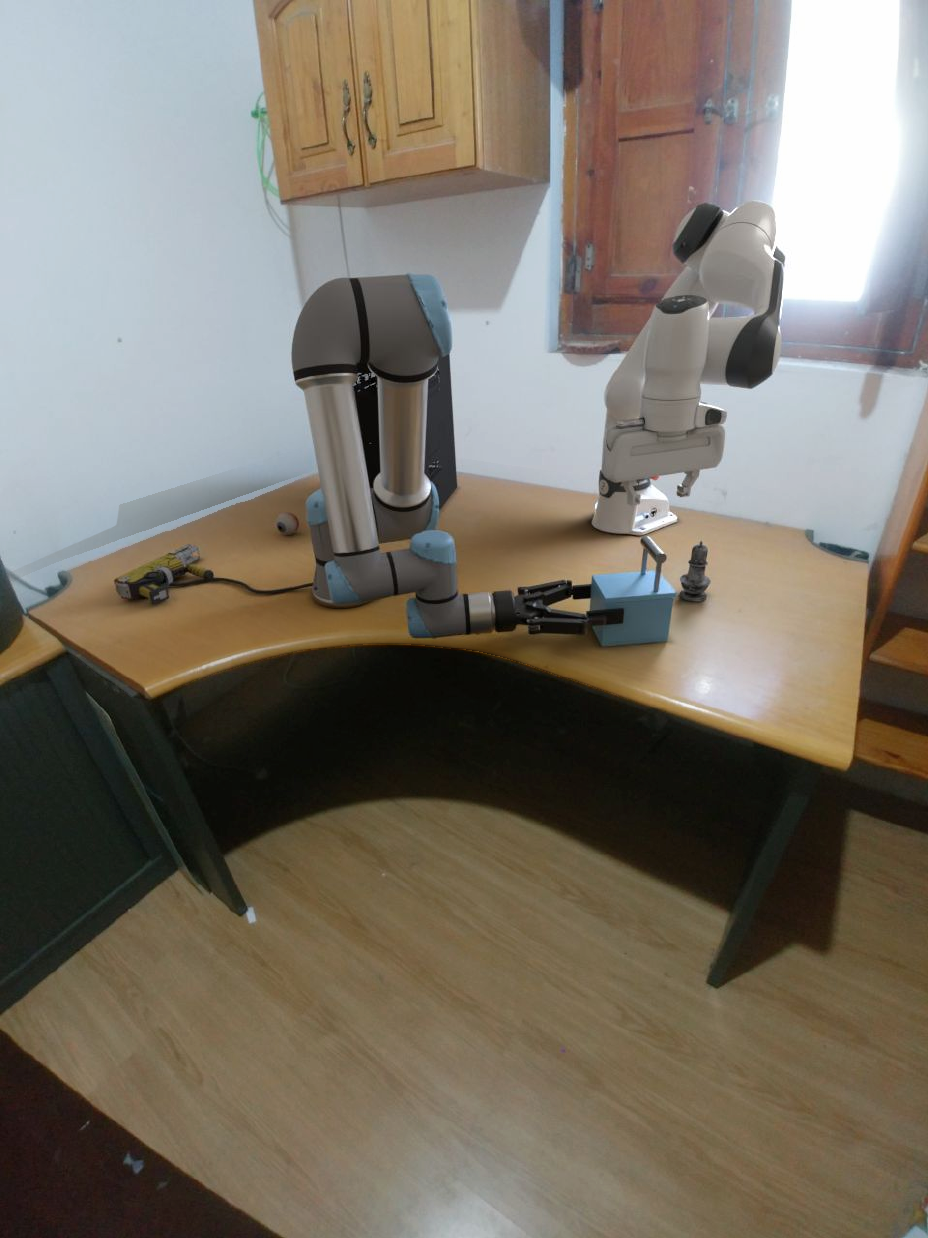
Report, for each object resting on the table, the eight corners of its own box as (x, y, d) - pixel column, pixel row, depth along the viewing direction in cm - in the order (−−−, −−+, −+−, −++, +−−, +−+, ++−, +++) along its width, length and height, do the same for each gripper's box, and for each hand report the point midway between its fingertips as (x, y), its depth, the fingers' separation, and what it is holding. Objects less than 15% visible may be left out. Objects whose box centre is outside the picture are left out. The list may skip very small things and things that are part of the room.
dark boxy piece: (424, 530, 162) (407, 348, 139) (353, 528, 166) (326, 351, 144) (457, 486, 193) (448, 332, 171) (397, 485, 198) (380, 334, 175)
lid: (657, 574, 113) (662, 532, 109) (676, 597, 105) (682, 553, 101) (591, 579, 112) (594, 538, 108) (605, 603, 104) (608, 559, 100)
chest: (650, 616, 117) (655, 575, 113) (667, 641, 109) (673, 598, 105) (588, 621, 117) (591, 580, 113) (601, 646, 109) (605, 603, 104)
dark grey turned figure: (710, 602, 120) (719, 547, 114) (679, 601, 121) (687, 546, 115) (706, 589, 125) (715, 535, 119) (676, 588, 126) (683, 534, 120)
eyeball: (273, 537, 164) (268, 516, 161) (287, 528, 169) (282, 508, 166) (291, 539, 161) (286, 518, 158) (305, 530, 166) (301, 510, 163)
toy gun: (236, 552, 148) (186, 541, 152) (163, 592, 128) (107, 579, 132) (239, 569, 150) (189, 559, 154) (167, 611, 130) (112, 598, 134)
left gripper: (486, 601, 120) (597, 592, 121) (500, 663, 101) (632, 652, 102) (485, 567, 117) (599, 558, 118) (499, 625, 98) (636, 613, 99)
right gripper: (618, 426, 89) (611, 515, 96) (736, 411, 93) (722, 497, 100) (598, 418, 94) (593, 503, 101) (710, 404, 99) (698, 486, 106)
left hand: (614, 602), depth 110 cm, fingers closed on chest, 9 cm apart
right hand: (658, 500), depth 101 cm, fingers open, 8 cm apart
